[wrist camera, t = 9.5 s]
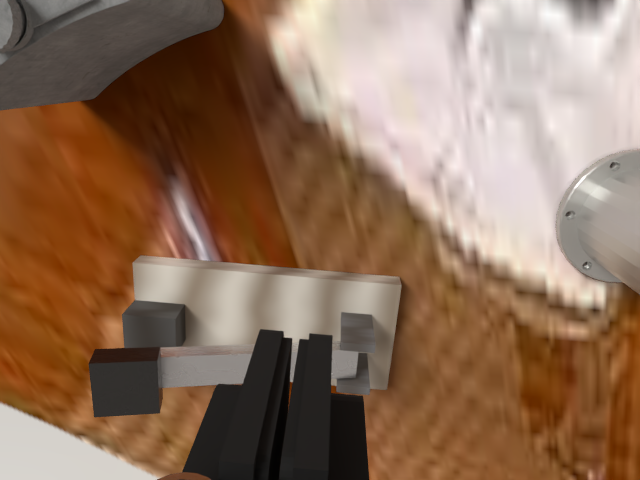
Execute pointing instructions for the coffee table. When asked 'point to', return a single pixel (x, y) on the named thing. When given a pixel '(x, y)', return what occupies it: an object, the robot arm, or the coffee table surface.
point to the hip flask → (87, 43)
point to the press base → (264, 310)
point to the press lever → (178, 373)
